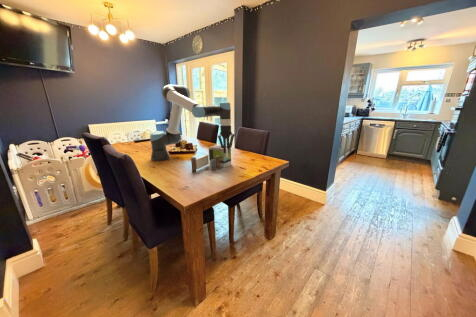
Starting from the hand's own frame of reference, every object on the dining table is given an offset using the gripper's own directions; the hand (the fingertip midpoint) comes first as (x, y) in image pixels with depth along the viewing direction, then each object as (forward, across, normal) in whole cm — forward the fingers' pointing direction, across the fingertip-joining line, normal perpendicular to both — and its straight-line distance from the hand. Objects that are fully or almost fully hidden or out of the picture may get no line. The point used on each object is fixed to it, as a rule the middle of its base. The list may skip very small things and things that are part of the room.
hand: (226, 156), depth 142 cm
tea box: (+9, -2, +11) cm, 14 cm away
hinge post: (+9, -24, +2) cm, 26 cm away
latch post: (+9, -6, +2) cm, 11 cm away
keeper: (+9, -10, +1) cm, 14 cm away
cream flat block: (+7, -17, +8) cm, 20 cm away
